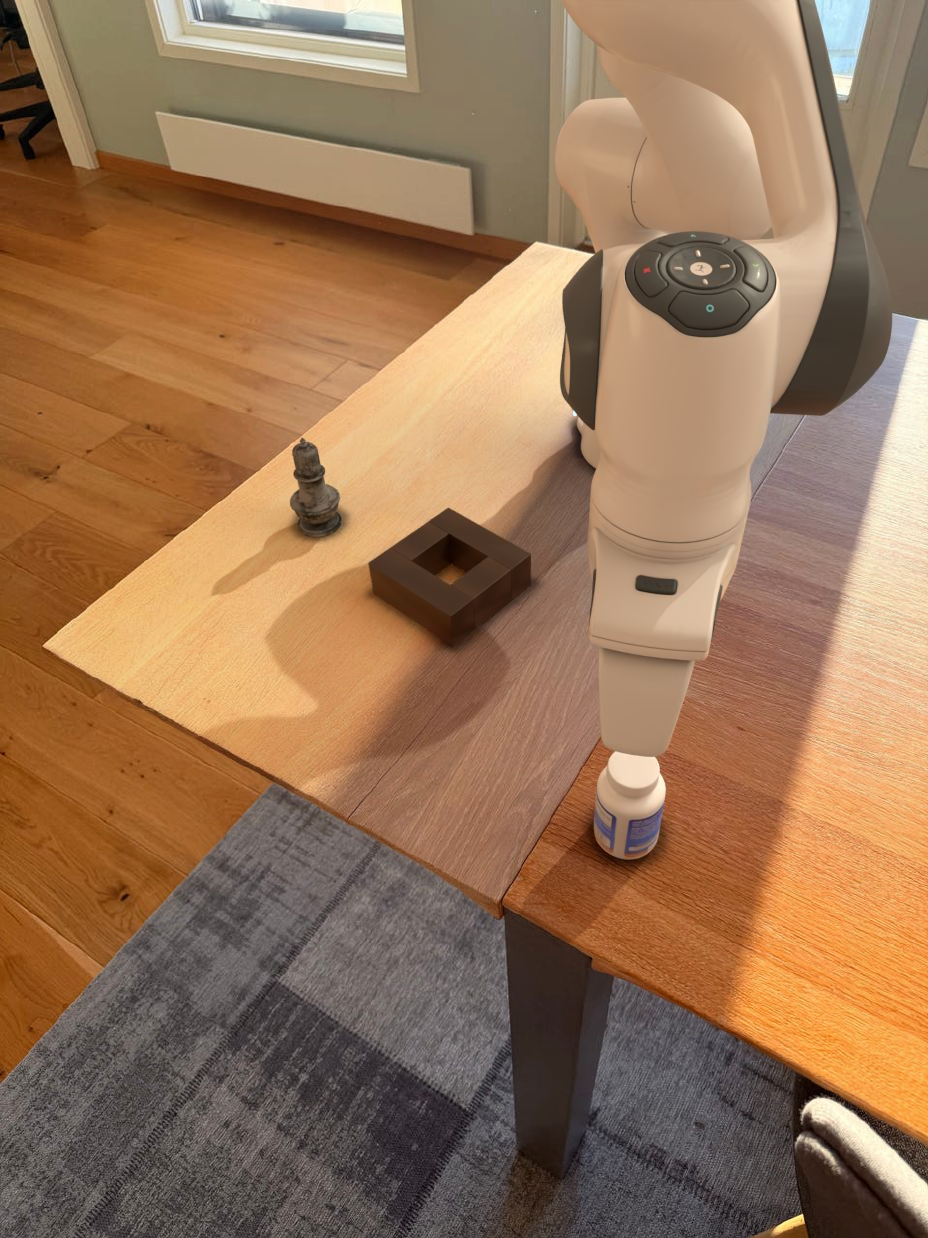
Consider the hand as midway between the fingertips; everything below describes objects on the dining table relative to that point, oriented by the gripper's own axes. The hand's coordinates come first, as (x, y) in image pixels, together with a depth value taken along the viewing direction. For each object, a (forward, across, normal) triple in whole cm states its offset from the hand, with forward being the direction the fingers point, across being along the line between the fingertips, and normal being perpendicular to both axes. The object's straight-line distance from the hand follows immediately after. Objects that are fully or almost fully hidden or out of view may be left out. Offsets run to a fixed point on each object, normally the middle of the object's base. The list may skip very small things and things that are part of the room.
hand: (642, 685), depth 63 cm
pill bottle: (+19, 0, 0) cm, 19 cm away
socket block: (+19, -26, -22) cm, 39 cm away
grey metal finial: (+20, -34, -40) cm, 56 cm away
